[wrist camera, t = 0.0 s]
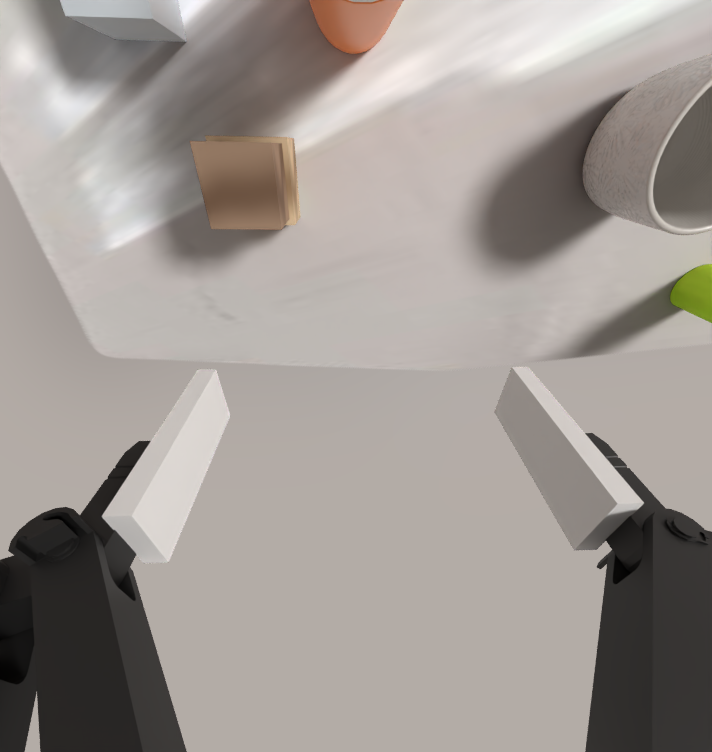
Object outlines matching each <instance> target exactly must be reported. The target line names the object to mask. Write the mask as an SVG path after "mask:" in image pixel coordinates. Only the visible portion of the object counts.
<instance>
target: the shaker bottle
mask: <svg viewBox="0 0 712 752" xmlns="http://www.w3.org/2000/svg"><path fill="white" fill-rule="evenodd" d="M309 1H310V4H311V7H312V10H313V13H314V15H315V18H316V21H317V23H318V25H319V27H320V29H321V31H322V33H323V34H324V36H325V37H326V39H327V40H328V41H329V42H330V43H331V44H332V45H333V46H334V47H336V48H337V49H339V50H341V51H343V52H346V53H350V54H358V53H362V52H365V51H367V50H369V49H371V48H372V47H374V46H375V45H376V44H377V43H378V42H379V41H380V40H381V38H382V37H383V35H384V34H385V33H386V31H387V29H388V27H389V25H390V24H391V22H392V20H393V18H394V16H395V15H396V13H397V11H398V9H399V7H400V6H401V4H402V2H403V0H309Z"/></svg>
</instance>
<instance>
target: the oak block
mask: <svg viewBox="0 0 712 752" xmlns="http://www.w3.org/2000/svg"><path fill="white" fill-rule="evenodd" d="M205 137H206V141H215V142H267V143H282V150H283V160H284V169H285V179H286V189H287V199H288V209H289V218H290V219H289V220H288V222H287V223H286V224H285V225H295V224H296V223H297V221H298V220H299V218H300V206H299V194H298V182H297V170H296V158H295V146H294V139H293V138H288V137H254V136H205Z"/></svg>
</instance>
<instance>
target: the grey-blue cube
mask: <svg viewBox="0 0 712 752" xmlns="http://www.w3.org/2000/svg"><path fill="white" fill-rule="evenodd" d="M60 2H61V5H62V8H63V11H64V13H65V16H67V17H69V18H71V19H73V20H75V21H77V22H79V23H81V24H84V25H86V26H88V27H90V28H92V29H94V30H96V31H98V32H100V33H103V34H105V35H107V36H109V37H111V38H113V39H115V40H143V41H175V42H187V40H186V36H185V31H184V26H183V22H182V17H181V12H180V8H179V3H178V0H60Z"/></svg>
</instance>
